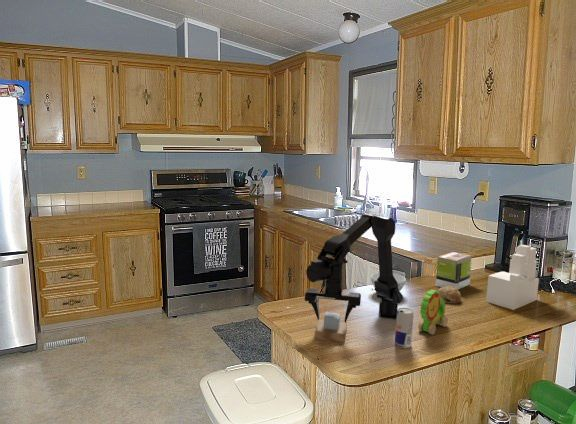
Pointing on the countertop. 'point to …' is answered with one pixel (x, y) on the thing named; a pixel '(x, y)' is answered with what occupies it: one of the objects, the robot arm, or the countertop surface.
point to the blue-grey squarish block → (331, 321)
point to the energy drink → (404, 327)
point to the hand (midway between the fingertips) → (331, 320)
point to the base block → (331, 332)
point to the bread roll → (450, 294)
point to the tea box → (453, 270)
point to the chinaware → (398, 278)
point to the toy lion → (432, 312)
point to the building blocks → (515, 281)
